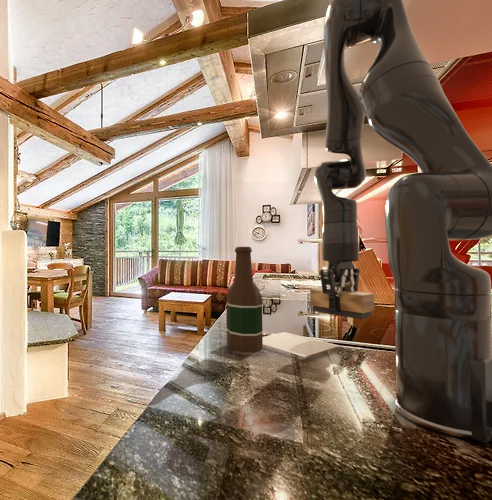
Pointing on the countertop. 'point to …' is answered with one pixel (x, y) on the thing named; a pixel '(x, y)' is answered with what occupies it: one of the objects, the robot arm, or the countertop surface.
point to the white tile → (296, 344)
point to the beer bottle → (244, 307)
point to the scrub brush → (344, 303)
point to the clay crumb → (265, 333)
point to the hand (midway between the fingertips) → (340, 310)
